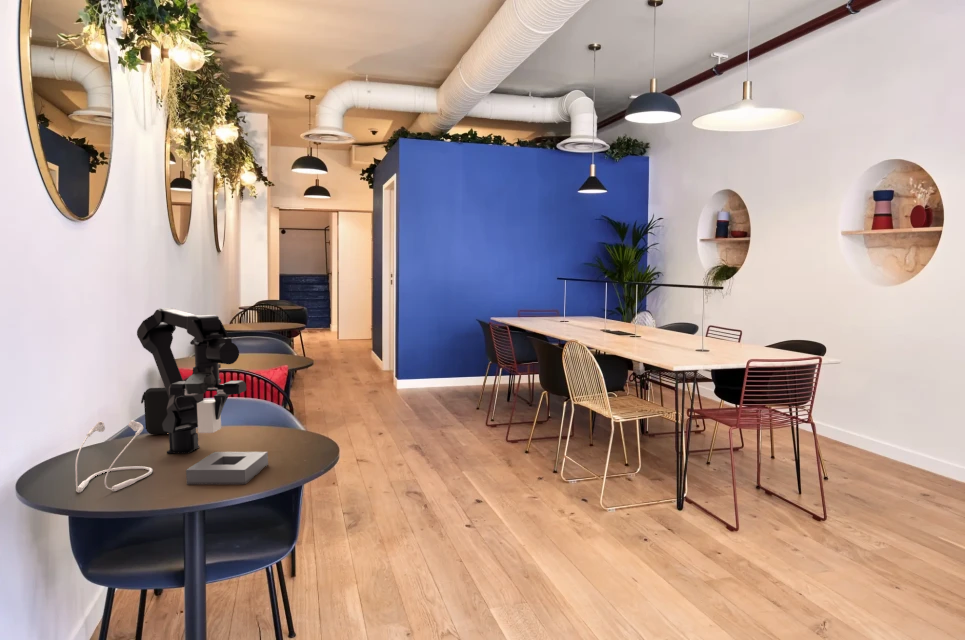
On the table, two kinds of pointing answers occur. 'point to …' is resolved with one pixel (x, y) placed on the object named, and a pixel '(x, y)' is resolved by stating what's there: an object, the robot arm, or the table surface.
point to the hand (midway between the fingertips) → (209, 419)
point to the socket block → (227, 468)
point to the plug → (207, 417)
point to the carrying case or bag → (155, 409)
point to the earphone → (100, 427)
